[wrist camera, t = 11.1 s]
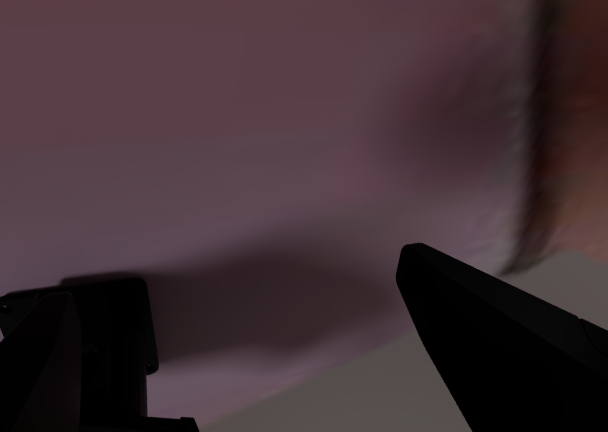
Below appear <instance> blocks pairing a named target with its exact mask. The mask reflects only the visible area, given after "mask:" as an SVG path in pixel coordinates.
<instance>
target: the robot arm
mask: <svg viewBox="0 0 608 432" xmlns="http://www.w3.org/2000/svg"><path fill="white" fill-rule="evenodd" d="M396 282H397V286H398V288H399V290H400V293H401V295H402V297H403V300H404V302H405V304H406V307H407V309H408V311H409V314H410V316H411V318H412V320H413V323H414V325H415V327H416V330H417V332H418V334H419V337H420V338H421V341H422V343H423V345H424V347H425V348H426V351H427V352H428V354H429V356H430V358H431V360H432V361H433V363H434V365H435V366H436V368H437V370H438V372H439V374H440V375H441V377H442V379H443V380H444V382H445V384H446V386H447V387H448V389H449V391H450V393H451V395H452V397H453V398H454V400H455V402H456V404H457V405H458V407H459V409H460V411H461V412H462V414H463V416H464V418H465V420H466V421H467V423H468V425H469V427H470V428H471V430H472V432H608V330H605V329H603V328H601V327H599V326H597V325H595V324H592V323H590V322H588V321H586V320H584V319H579V318H578V317H577V316H576V315H573V314H571V313H569V312H567V311H565V310H563V309H561V308H559V307H557V306H554V305H552V304H550V303H548V302H546V301H544V300H542V299H540V298H537V297H535V296H533V295H531V294H529V293H527V292H525V291H523V290H521V289H518V288H516V287H514V286H512V285H510V284H508V283H506V282H504V281H502V280H499V279H497V278H495V277H493V276H491V275H489V274H487V273H485V272H483V271H480V270H478V269H476V268H474V267H472V266H470V265H468V264H466V263H464V262H461V261H459V260H457V259H455V258H453V257H451V256H449V255H447V254H445V253H442V252H440V251H438V250H436V249H434V248H432V247H430V246H428V245H426V244H423V243H414V244H407V245H405V246H403V248H402V250H401V253H400V258H399V263H398V267H397V272H396ZM134 287H139V288H140V289H138V290H133V289H132V288H134ZM5 305H6V306H11V307H12V308H5V307H3V306H5ZM0 329H1V331H2V334H3V336H4V339H3V340H2V341H1V342H0V432H199V429H198V427H197V424H196V422H195V419H194V418H190V417H181V418H180V419H172V418H159V417H148V416H147V381H146V375H150V374H153V373H155V372H156V371H157V370H158V368H159V364H158V355H157V349H156V342H155V335H154V329H153V322H152V315H151V309H150V302H149V295H148V289H147V284H146V281H144V280H143V279H141V278H131V279H123V280H116V281H108V282H101V283H94V284H86V285H79V286H72V287H64V288H57V289H49V290H42V291H35V292H27V293H20V294H13V295H5V296H2V297H0ZM147 365H150V366H147Z"/></svg>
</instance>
